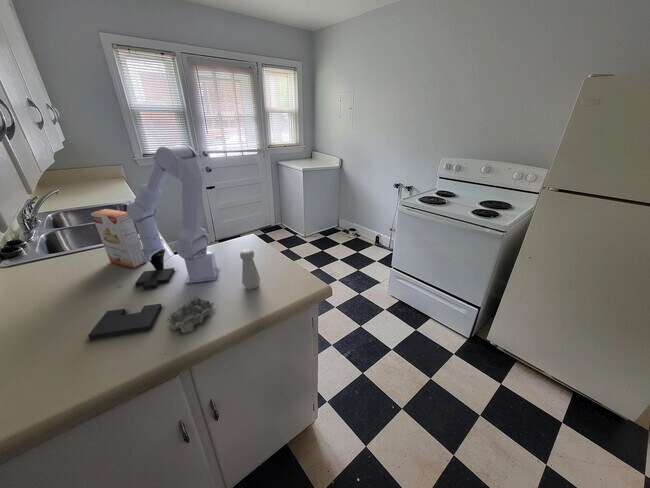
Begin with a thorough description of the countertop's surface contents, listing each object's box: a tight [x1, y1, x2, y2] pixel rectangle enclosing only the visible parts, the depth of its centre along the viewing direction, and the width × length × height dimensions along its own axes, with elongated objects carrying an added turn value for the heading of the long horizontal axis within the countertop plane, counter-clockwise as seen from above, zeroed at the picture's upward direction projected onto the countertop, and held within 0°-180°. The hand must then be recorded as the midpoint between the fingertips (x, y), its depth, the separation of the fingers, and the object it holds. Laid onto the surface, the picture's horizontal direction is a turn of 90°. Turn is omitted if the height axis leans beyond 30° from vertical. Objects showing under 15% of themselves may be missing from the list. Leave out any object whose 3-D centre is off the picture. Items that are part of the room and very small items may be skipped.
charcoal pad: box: [87, 303, 163, 341], centre depth 74 cm, size 14×10×2 cm
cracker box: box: [90, 208, 148, 269], centre depth 102 cm, size 14×6×21 cm, turn 67°
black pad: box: [134, 267, 176, 291], centre depth 94 cm, size 10×11×2 cm
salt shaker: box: [239, 248, 261, 291], centre depth 87 cm, size 6×6×13 cm
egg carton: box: [166, 295, 215, 334], centre depth 74 cm, size 11×8×4 cm
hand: (160, 269), depth 99 cm, fingers closed
